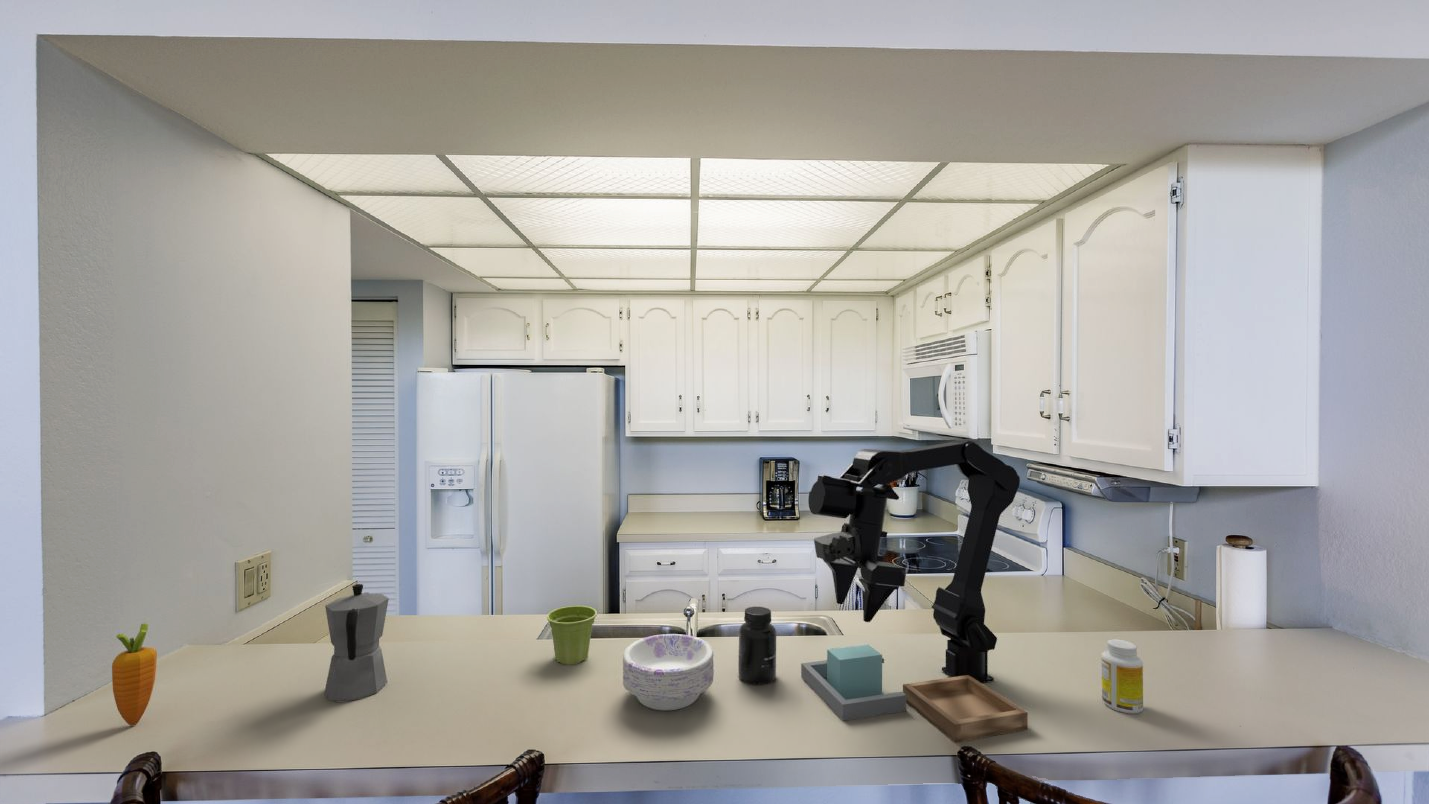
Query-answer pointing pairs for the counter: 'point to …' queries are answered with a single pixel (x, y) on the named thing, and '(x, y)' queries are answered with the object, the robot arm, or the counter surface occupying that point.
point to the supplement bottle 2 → (1122, 677)
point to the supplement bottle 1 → (757, 647)
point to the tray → (965, 708)
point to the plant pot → (571, 632)
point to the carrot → (133, 676)
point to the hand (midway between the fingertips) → (852, 612)
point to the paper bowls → (668, 670)
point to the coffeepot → (356, 645)
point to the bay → (851, 707)
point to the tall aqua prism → (855, 671)
